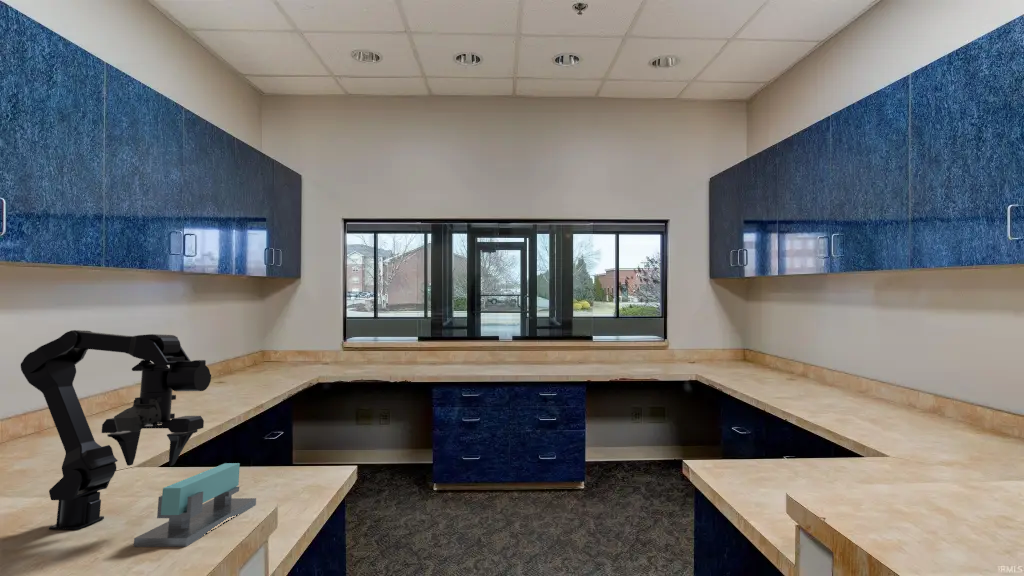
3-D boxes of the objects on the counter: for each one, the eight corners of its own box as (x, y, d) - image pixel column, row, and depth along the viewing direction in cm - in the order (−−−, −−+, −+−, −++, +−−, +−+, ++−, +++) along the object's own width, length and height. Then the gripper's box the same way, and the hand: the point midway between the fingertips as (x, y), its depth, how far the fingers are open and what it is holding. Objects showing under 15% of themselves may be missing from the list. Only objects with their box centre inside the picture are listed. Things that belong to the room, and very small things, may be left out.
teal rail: (160, 515, 93) (162, 488, 94) (223, 485, 113) (225, 463, 114) (178, 515, 93) (180, 488, 94) (238, 485, 113) (239, 463, 114)
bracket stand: (133, 546, 91) (137, 502, 92) (214, 504, 115) (216, 470, 116) (185, 546, 91) (188, 502, 92) (255, 504, 114) (257, 469, 115)
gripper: (81, 395, 98) (74, 475, 97) (171, 395, 98) (166, 474, 96) (126, 390, 109) (120, 461, 108) (207, 390, 109) (202, 461, 107)
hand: (150, 465), depth 104 cm, fingers open, 9 cm apart
